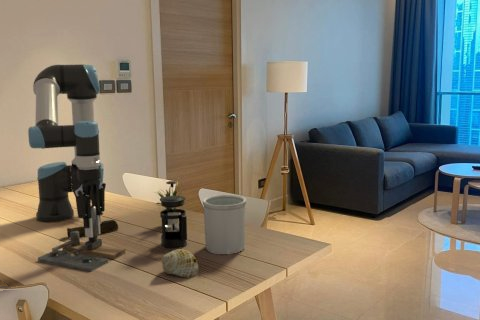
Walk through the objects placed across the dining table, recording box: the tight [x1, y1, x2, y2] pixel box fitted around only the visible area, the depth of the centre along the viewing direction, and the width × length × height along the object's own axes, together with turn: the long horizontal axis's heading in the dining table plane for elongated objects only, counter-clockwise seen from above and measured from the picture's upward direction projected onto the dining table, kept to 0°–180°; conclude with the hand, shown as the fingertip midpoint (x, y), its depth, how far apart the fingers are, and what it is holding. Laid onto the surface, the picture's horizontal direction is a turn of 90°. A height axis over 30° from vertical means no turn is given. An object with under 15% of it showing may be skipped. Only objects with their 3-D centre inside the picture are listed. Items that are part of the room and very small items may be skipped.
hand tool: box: [66, 219, 119, 239], centre depth 186 cm, size 19×4×5 cm, turn 117°
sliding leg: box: [71, 205, 103, 257], centre depth 162 cm, size 13×3×14 cm, turn 156°
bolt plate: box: [37, 249, 109, 272], centre depth 158 cm, size 8×22×1 cm, turn 66°
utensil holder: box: [202, 193, 247, 255], centre depth 168 cm, size 15×15×18 cm
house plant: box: [154, 185, 187, 224], centre depth 194 cm, size 14×14×16 cm
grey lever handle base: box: [51, 231, 126, 260], centre depth 163 cm, size 14×22×6 cm, turn 66°
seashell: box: [161, 248, 199, 278], centre depth 148 cm, size 10×10×10 cm
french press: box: [159, 180, 188, 250], centre depth 171 cm, size 12×9×23 cm
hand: (92, 234), depth 166 cm, fingers closed on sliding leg, 3 cm apart
